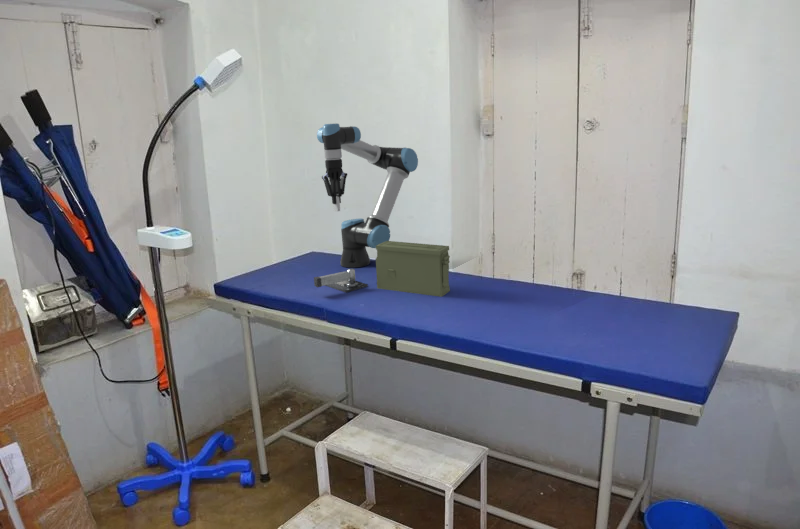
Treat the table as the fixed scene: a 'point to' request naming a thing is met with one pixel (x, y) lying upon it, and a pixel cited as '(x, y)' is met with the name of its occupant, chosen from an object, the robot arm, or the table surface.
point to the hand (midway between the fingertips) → (337, 210)
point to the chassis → (347, 286)
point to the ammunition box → (413, 268)
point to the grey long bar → (335, 278)
